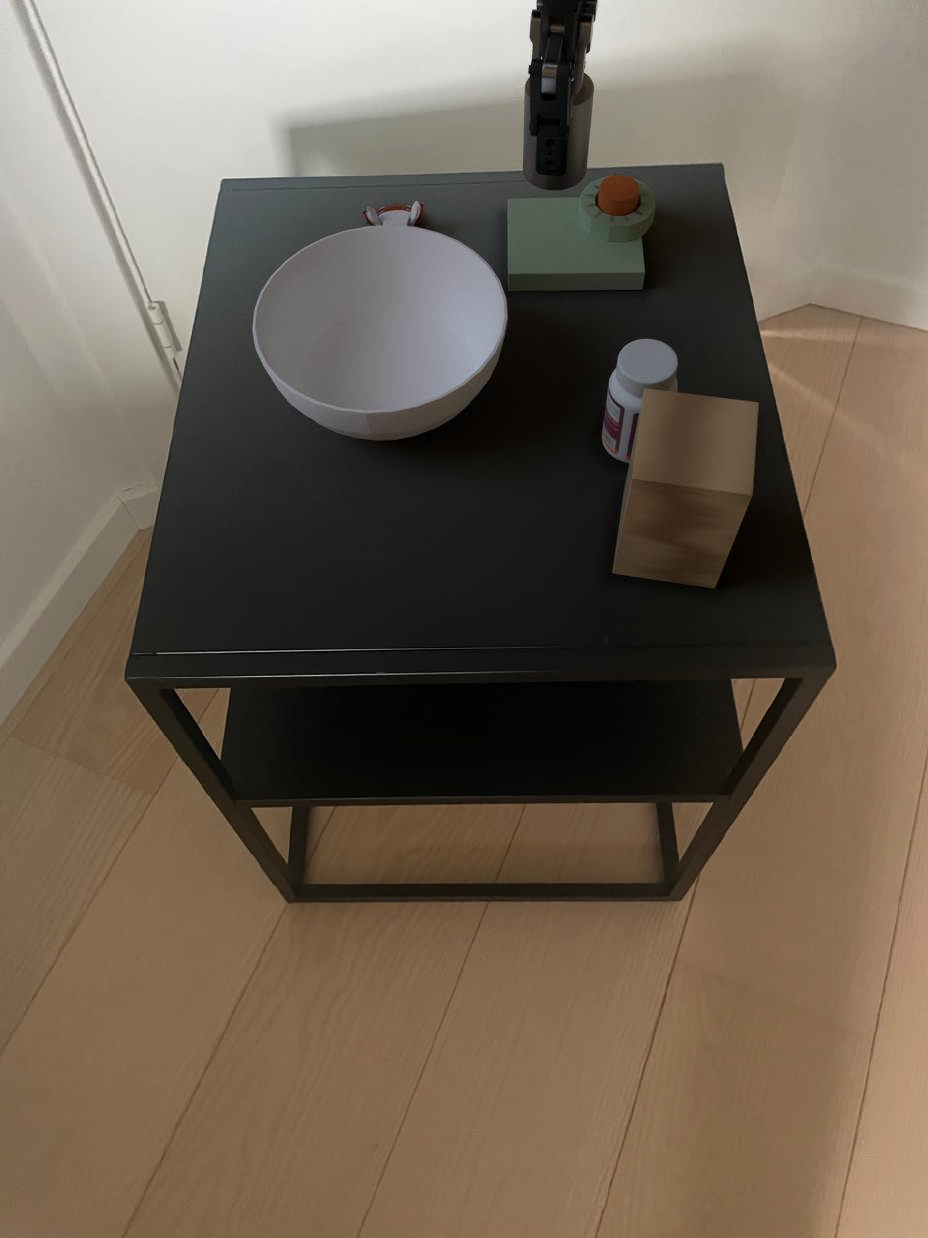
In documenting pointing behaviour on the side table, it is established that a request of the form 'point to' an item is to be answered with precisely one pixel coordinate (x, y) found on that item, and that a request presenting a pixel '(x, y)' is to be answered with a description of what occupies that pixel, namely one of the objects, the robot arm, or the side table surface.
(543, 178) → the spice tin
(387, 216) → the toy car
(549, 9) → the robot arm
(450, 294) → the bowl
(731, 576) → the side table surface
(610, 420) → the pill bottle
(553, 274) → the green board with knob
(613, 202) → the button
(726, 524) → the block
